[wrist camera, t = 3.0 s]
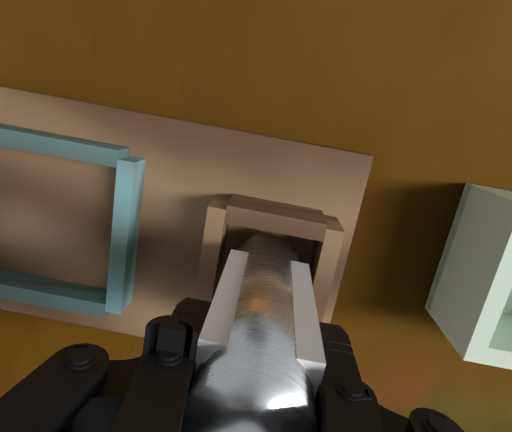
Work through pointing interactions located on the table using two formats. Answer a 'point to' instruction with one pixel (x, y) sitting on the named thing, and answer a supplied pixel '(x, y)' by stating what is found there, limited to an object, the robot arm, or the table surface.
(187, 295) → the mount
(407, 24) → the table surface
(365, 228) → the table surface
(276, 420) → the pin
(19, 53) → the table surface
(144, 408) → the robot arm
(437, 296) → the tray
